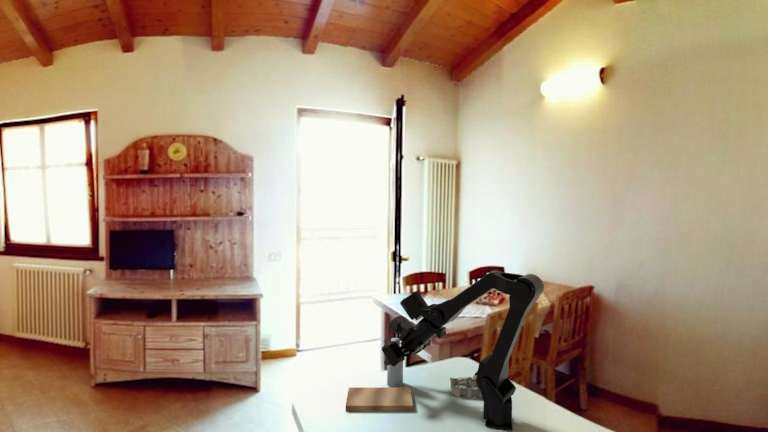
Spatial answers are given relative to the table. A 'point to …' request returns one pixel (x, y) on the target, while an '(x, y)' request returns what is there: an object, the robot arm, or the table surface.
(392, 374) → the slate-blue bottle
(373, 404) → the walnut board
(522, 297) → the robot arm
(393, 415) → the table surface
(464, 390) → the egg carton
